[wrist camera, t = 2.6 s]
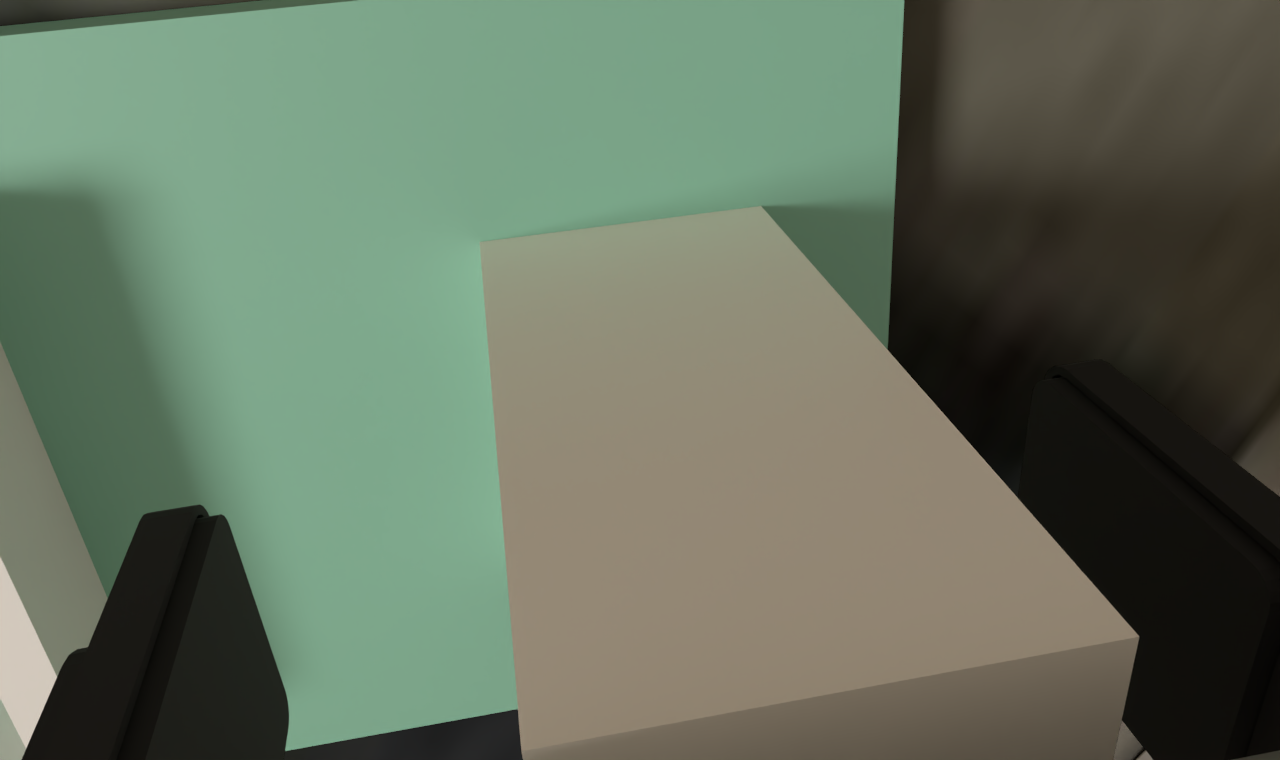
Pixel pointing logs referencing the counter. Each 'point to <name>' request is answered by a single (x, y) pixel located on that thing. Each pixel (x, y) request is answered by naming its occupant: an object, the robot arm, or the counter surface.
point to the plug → (762, 523)
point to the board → (361, 290)
